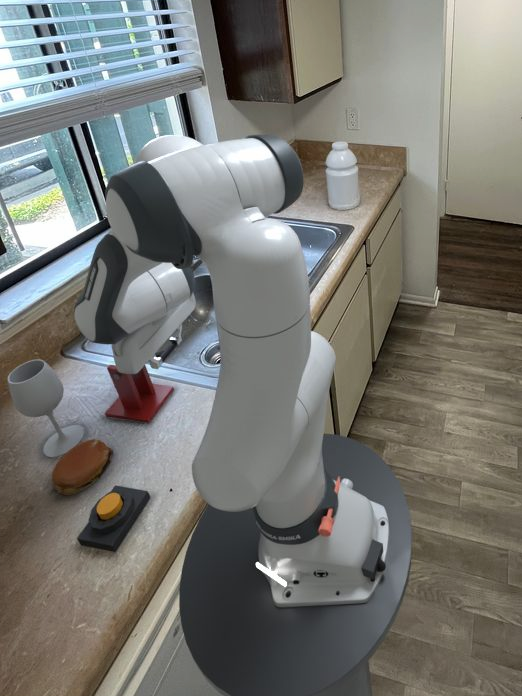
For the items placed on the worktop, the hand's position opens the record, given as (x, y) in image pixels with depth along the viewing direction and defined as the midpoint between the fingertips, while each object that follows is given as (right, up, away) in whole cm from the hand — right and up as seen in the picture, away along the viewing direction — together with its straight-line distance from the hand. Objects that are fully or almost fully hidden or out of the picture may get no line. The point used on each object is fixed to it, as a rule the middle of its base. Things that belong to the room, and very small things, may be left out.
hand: (167, 354), depth 93 cm
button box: (-2, -26, -13) cm, 29 cm away
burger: (-14, -22, -5) cm, 26 cm away
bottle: (+24, +29, +100) cm, 107 cm away
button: (-2, -22, -15) cm, 27 cm away
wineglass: (-23, -19, +1) cm, 30 cm away
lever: (-6, -3, +2) cm, 7 cm away
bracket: (-11, -15, +9) cm, 21 cm away
